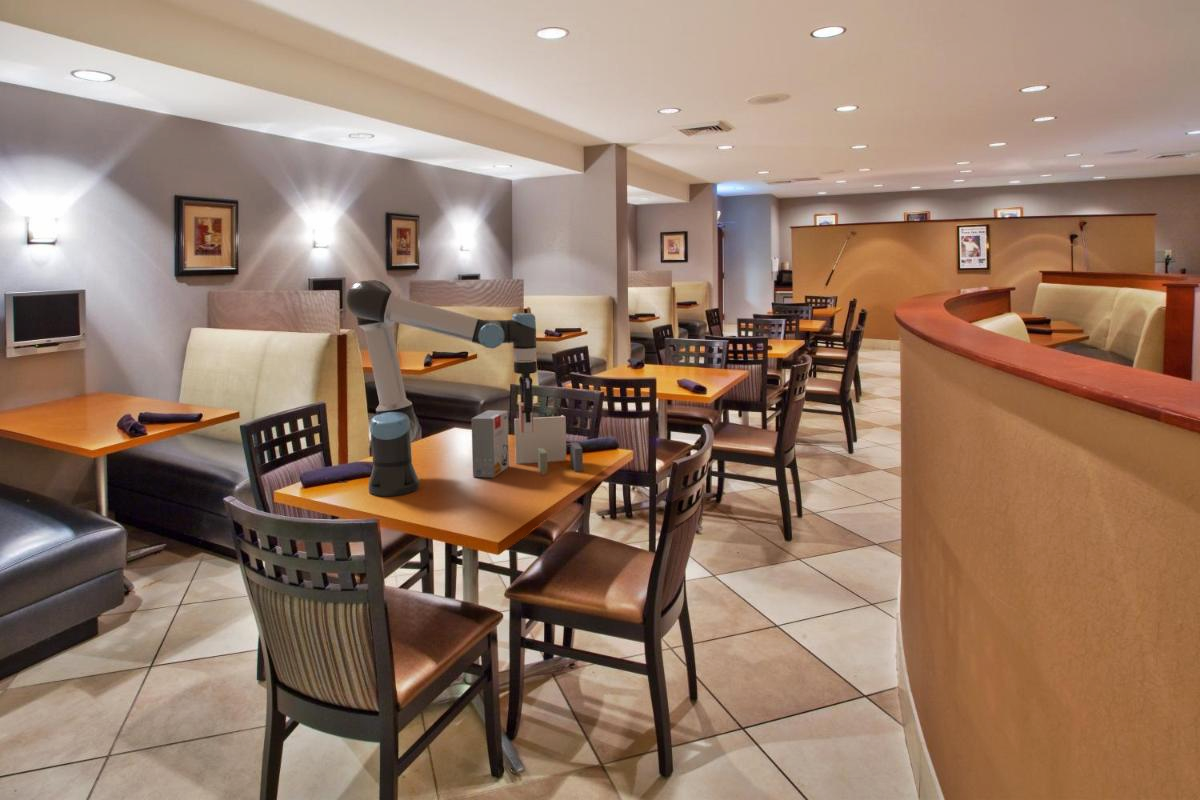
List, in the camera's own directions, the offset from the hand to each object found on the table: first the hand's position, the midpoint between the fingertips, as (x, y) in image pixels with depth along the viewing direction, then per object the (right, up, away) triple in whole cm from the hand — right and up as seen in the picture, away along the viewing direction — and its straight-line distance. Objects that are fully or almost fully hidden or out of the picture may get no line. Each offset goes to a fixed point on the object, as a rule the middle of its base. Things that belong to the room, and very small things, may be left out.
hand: (527, 429), depth 235 cm
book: (0, 0, 0) cm, 0 cm away
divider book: (+5, -14, +4) cm, 16 cm away
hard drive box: (-12, -15, +4) cm, 20 cm away
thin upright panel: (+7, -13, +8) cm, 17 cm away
